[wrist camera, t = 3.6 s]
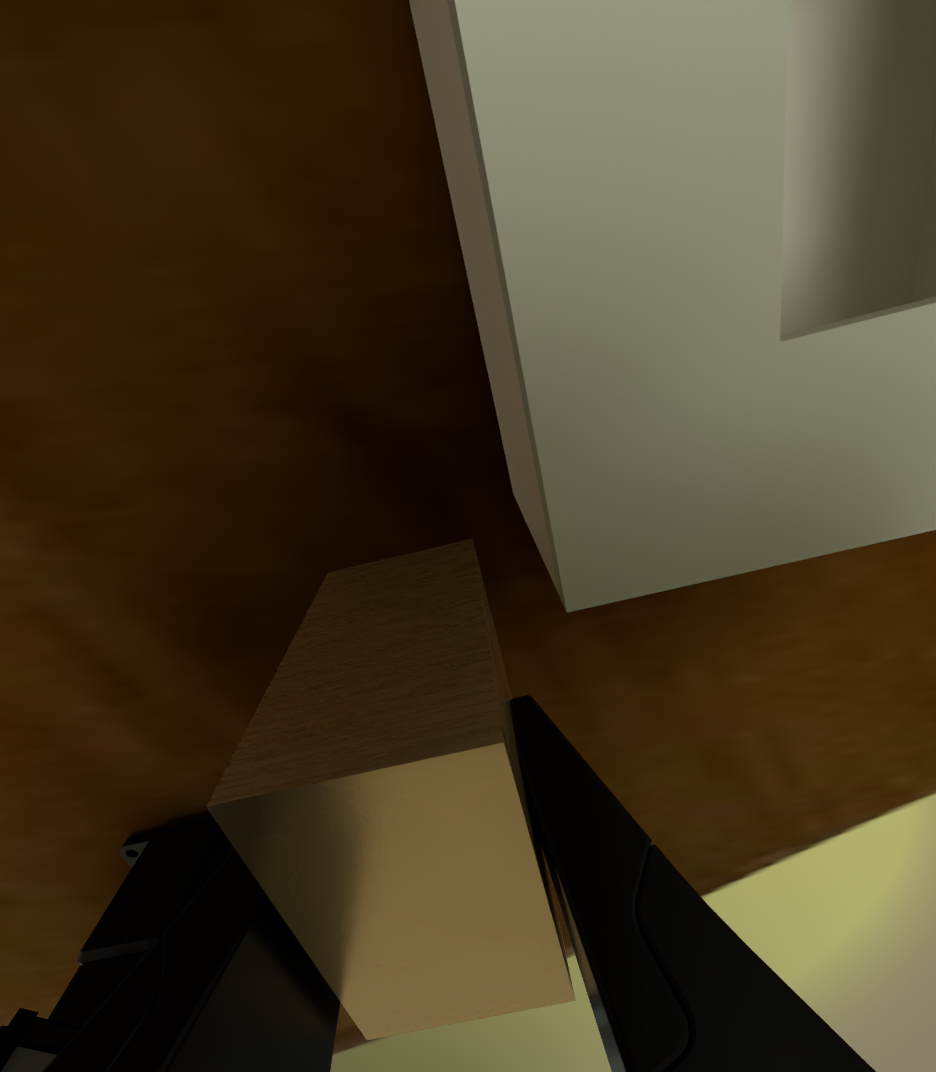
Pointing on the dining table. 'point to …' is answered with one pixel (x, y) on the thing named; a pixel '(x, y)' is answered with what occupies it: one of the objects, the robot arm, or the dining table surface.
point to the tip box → (698, 273)
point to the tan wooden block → (399, 802)
